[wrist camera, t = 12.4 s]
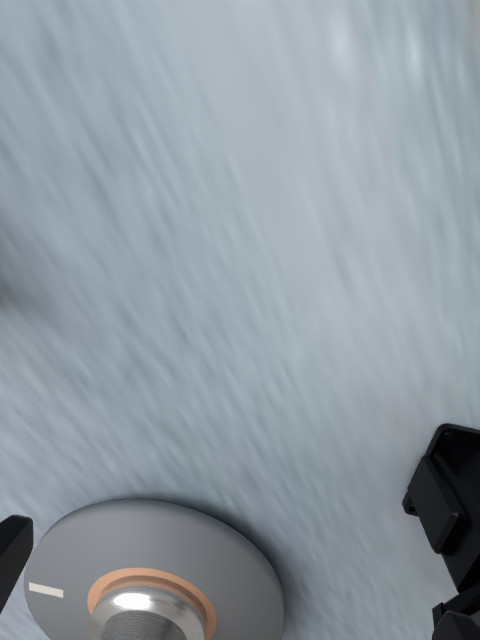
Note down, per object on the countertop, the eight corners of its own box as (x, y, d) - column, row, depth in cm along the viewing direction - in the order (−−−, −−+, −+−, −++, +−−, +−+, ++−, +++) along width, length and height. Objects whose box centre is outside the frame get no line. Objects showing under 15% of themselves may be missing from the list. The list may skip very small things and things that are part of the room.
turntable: (313, 534, 23) (315, 552, 22) (254, 692, 30) (253, 712, 29) (32, 472, 24) (20, 487, 23) (35, 642, 30) (26, 660, 29)
